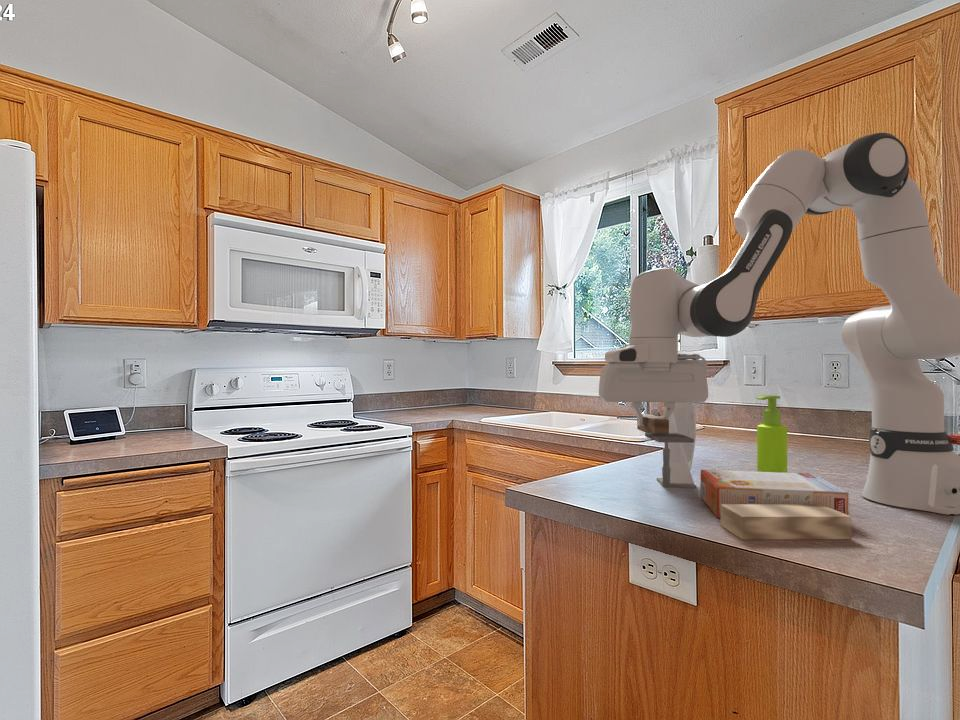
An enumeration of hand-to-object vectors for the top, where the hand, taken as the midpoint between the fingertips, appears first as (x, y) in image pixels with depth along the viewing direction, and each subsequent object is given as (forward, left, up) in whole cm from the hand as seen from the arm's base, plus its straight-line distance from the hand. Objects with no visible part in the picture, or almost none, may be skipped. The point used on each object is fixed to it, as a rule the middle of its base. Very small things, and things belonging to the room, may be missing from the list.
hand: (652, 425), depth 100 cm
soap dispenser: (-32, -16, -15) cm, 39 cm away
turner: (0, +3, -1) cm, 3 cm away
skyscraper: (-12, -18, -15) cm, 27 cm away
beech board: (-16, +16, -15) cm, 27 cm away
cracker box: (-10, +2, -12) cm, 16 cm away
